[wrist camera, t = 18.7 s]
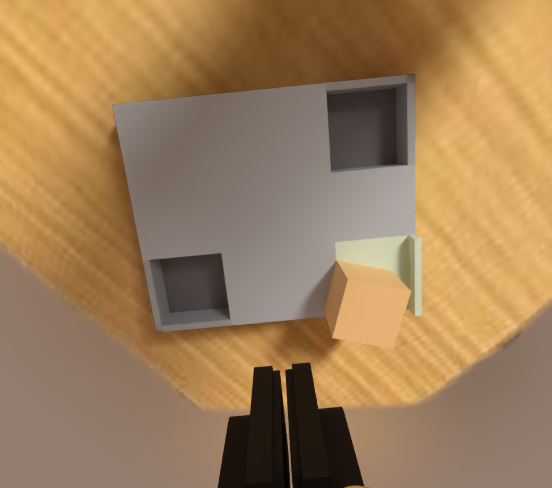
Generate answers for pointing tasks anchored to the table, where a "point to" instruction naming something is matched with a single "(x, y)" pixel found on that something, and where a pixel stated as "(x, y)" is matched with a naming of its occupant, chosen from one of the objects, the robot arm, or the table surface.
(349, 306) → the block
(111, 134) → the table surface
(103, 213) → the table surface
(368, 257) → the grey sorting tray
